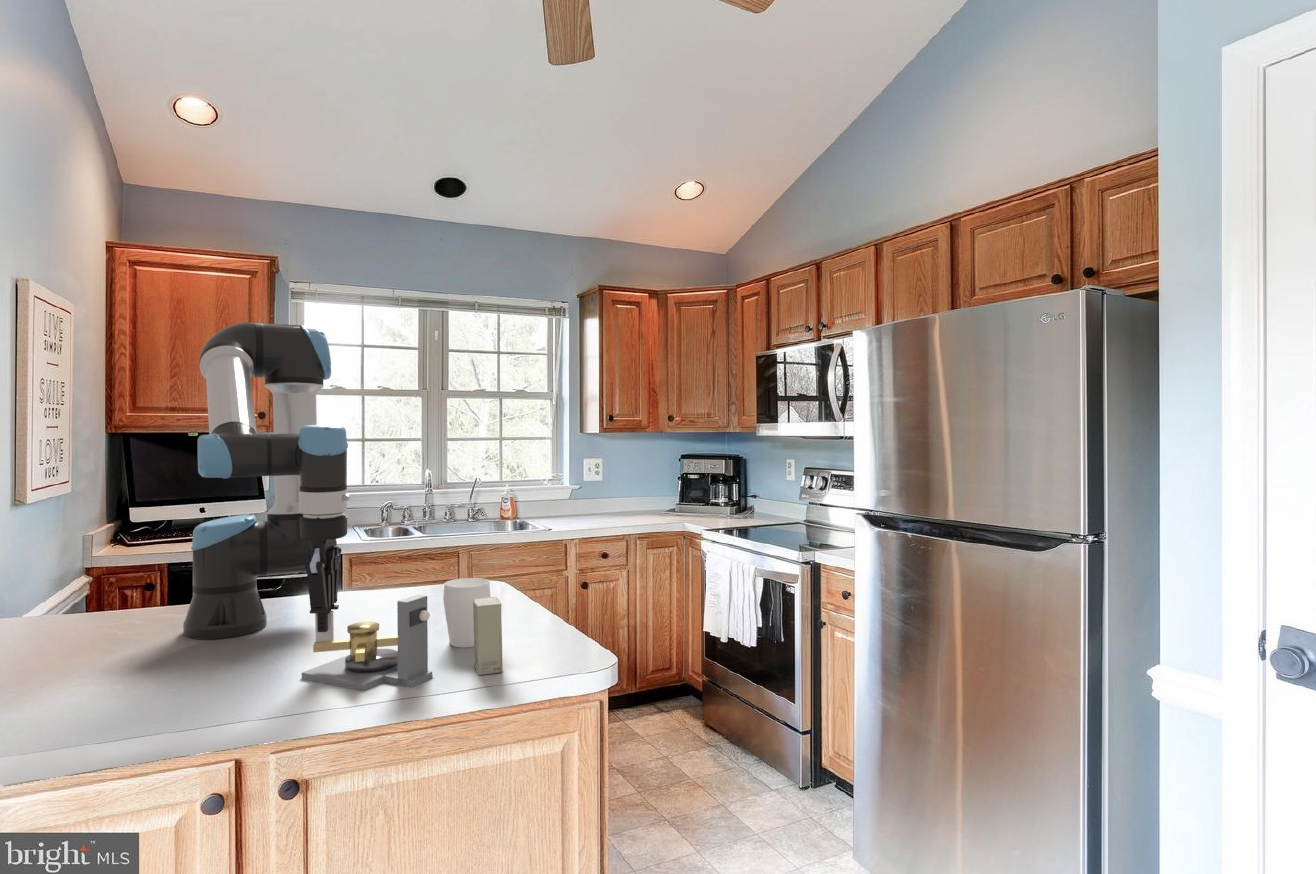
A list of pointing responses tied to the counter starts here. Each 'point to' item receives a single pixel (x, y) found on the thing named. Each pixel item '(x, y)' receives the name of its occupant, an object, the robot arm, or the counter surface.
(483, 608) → the skincare box
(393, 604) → the counter surface
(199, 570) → the robot arm
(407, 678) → the stand
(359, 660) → the capstan
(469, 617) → the cup
